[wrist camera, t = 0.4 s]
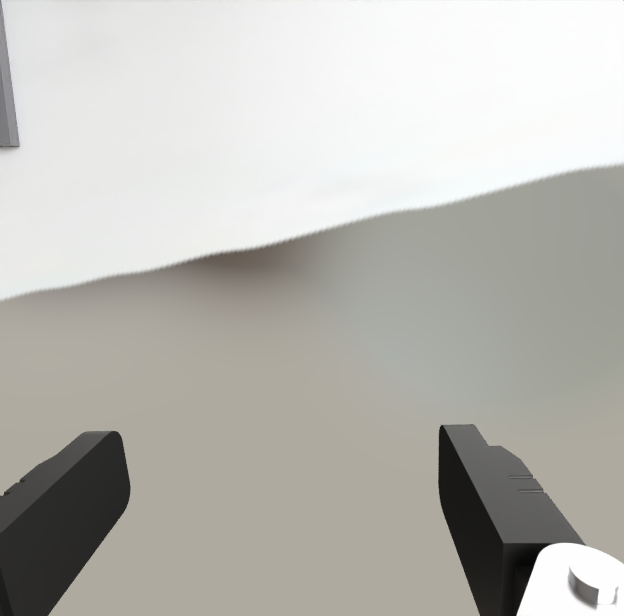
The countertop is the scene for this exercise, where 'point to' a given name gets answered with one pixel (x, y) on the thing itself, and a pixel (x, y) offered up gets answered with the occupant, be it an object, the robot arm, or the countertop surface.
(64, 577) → the robot arm
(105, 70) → the countertop surface
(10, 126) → the grey boxy piece
